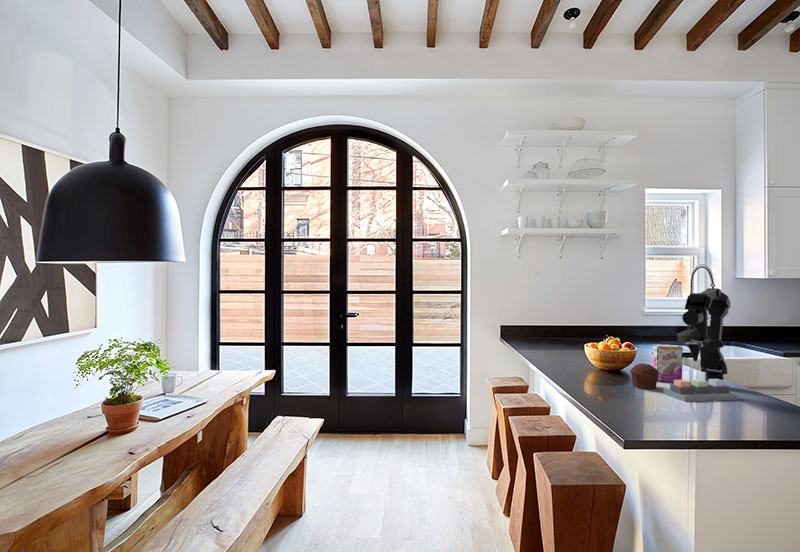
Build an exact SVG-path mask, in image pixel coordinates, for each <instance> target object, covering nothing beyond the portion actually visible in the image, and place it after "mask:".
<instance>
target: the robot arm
mask: <svg viewBox="0 0 800 552" xmlns="http://www.w3.org/2000/svg"><path fill="white" fill-rule="evenodd" d="M730 308H731V300H730V298H729V296H728V295H727V294H725V293H724V292H722V289H721V288H717V287H716V288H715V287H714V288H713V287H712V288H710V287H709V288H706V289H705V290H703V291H701V292H699V293H698V292H691V293H689V295H687V299H686V303H685V306H684V310H687V311H685V312H684V313H683V315H682V317H681V319H682V321H683V323H684V324H685V325H687V329H686V330H682V331H680V332H678V333H676V342H679V343H683V345H685V346H686V347H687V348H688V349H689V351H690V354H691V357H692V361H694V362H698V359H699V356H700V369H701V370H700V371H701V373H705V374H704V375H705V376H704V377H705V379H704V380H705V381H708V379H720V380H724V375H728V366H727V363H726V361H725V357H724V355H723V353H722V351H721V349H722V348H724V342H723V341H722V335H723V324H724V323H723V322H724V318H725V317H726V316H727V315H728V313H729V310H730ZM708 313H709V315H710V320H709V326H708ZM708 330H709V331H708Z"/></svg>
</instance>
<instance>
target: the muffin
mask: <svg viewBox="0 0 800 552" xmlns="http://www.w3.org/2000/svg"><path fill="white" fill-rule="evenodd" d="M629 372H630V373H629V374H631V380H632V386H633V388H635V387H636V389H638V388H639V390H645V391H646V390H648V391H653V390H657V389H656V388H657V378H658V375H659V372H658V371H657V370H656V368H654V367H653V365H651V364H648V363H645V362H644V363H637V364H634V366H633V367H632V368H631V369H630V370H629Z"/></svg>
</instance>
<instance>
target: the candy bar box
mask: <svg viewBox="0 0 800 552" xmlns="http://www.w3.org/2000/svg"><path fill="white" fill-rule="evenodd" d="M652 346H653V347H652V366H653V367H654V368H656V370H657V371H658V372H659V375H658V378H657V382H658V383H659V382H661V383H674V380H683V355H684V354H683V351H684V350H683V346H682V345H681V346H680V345H677V344H675V345H674V344H653V345H652Z"/></svg>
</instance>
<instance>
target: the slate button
mask: <svg viewBox="0 0 800 552" xmlns="http://www.w3.org/2000/svg"><path fill="white" fill-rule="evenodd" d="M708 384H709V385H713V386H725V385H726V380H724V379H723V380H720V379H708Z"/></svg>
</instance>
